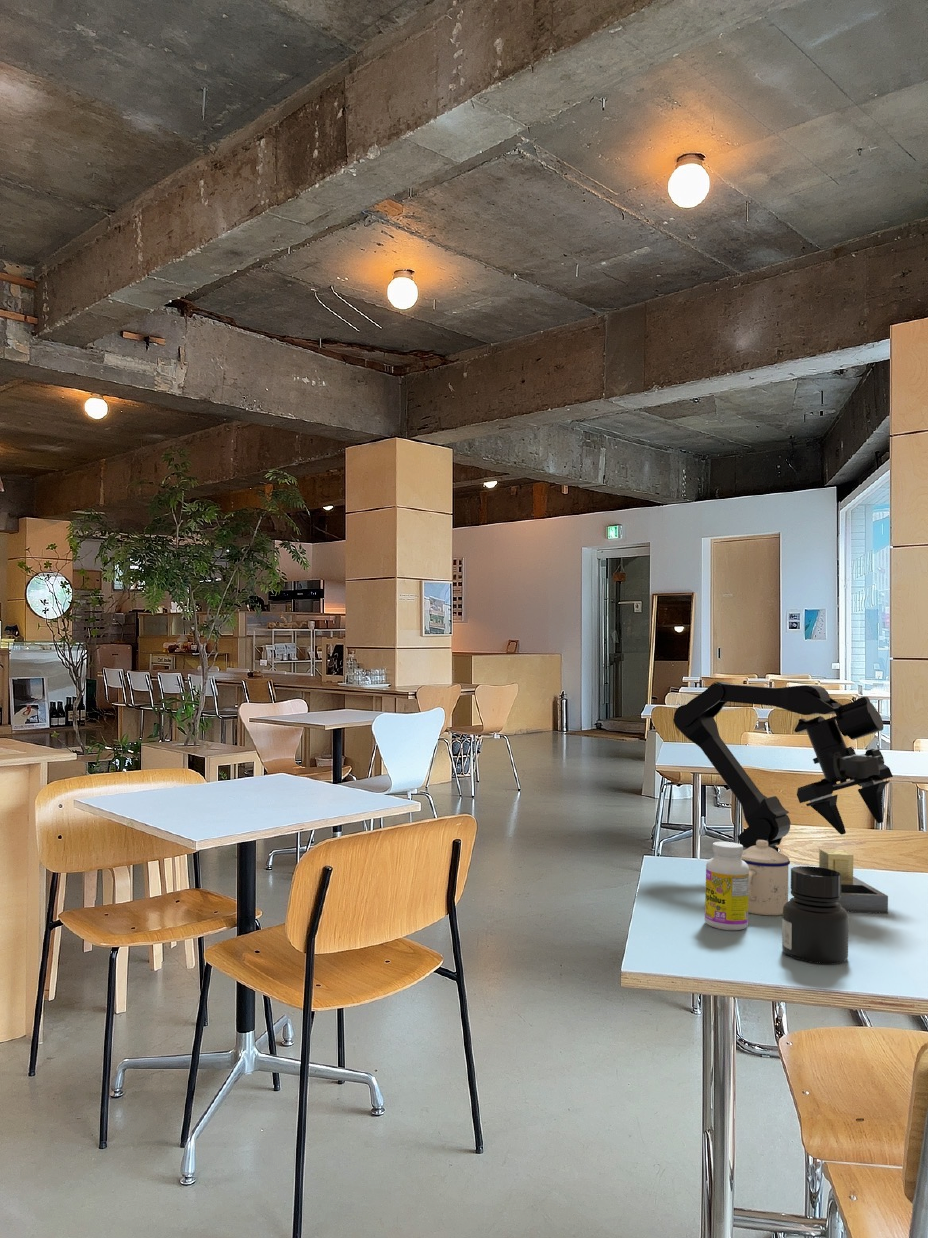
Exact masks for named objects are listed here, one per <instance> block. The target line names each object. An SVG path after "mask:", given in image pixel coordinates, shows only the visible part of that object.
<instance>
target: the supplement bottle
mask: <svg viewBox="0 0 928 1238" xmlns="http://www.w3.org/2000/svg"><path fill="white" fill-rule="evenodd" d="M712 851H713V857H712V858H710V859H709V858H708V861H706V865H705V895H704V896H705V900H704V903H705V904H704V921H705V923H706V924H707V925H708V926H710V927H712V928H716V929H719V930H723V931H741V930H744V929H746V928H747V927H748V923H749V913H748V895H749V867H748V865H747V863H746V862H744V861H743V860H742V857H741V856H742V853H743V845H741V844H740V843H739V842H738V843H737V842H732V841H730V842H729V841H715V842H713V843H712Z"/></svg>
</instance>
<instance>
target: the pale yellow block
mask: <svg viewBox="0 0 928 1238" xmlns="http://www.w3.org/2000/svg"><path fill="white" fill-rule="evenodd" d="M818 850H819V851H818V853H819V854H818V855H819V857H818V858H819V861H818V862H819V863H818V865H819V866H818V867H820V868H827V869H831V870H835V871H837V872H840V874H841V882H846V883H853V876H854V854H852V853H850V852H848V851H846V850H844V849H831V848H830V849H827V848H826V849H825V848H819V849H818Z"/></svg>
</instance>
